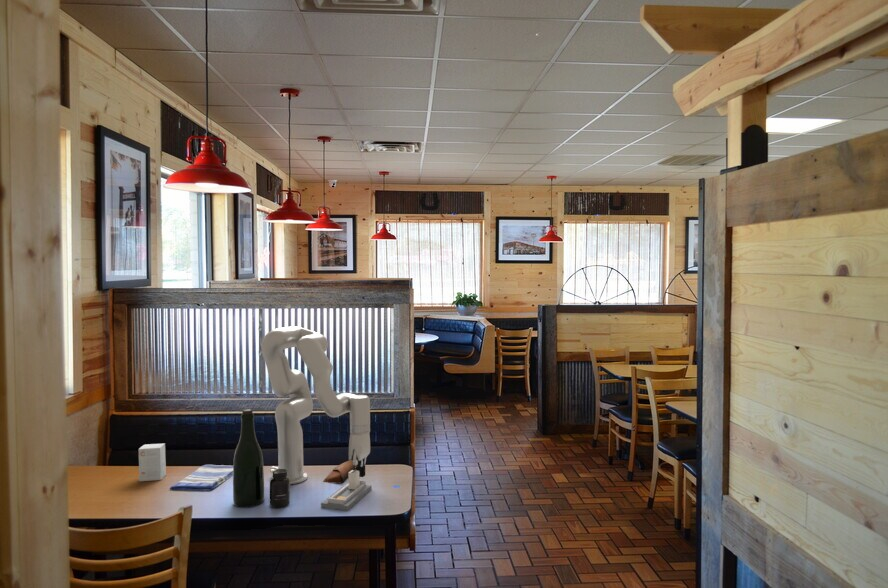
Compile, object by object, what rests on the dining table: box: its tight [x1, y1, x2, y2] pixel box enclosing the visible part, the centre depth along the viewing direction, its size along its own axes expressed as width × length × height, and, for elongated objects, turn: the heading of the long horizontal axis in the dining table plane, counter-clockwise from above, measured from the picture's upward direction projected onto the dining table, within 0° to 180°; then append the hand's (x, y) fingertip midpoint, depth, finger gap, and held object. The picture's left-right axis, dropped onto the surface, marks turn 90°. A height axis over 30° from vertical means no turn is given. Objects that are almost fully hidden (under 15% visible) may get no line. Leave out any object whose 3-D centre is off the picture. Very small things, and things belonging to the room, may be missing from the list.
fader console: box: [320, 480, 372, 511], centre depth 201 cm, size 20×10×3 cm, turn 163°
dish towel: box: [169, 464, 233, 492], centre depth 221 cm, size 17×24×3 cm
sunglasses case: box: [323, 459, 356, 484], centre depth 225 cm, size 18×7×7 cm
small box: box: [137, 443, 167, 482], centre depth 222 cm, size 8×6×13 cm
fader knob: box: [347, 469, 360, 490], centre depth 206 cm, size 3×3×6 cm
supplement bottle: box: [269, 469, 291, 509], centre depth 195 cm, size 7×7×12 cm
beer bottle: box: [232, 408, 265, 508], centre depth 198 cm, size 10×10×33 cm
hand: (360, 476), depth 212 cm, fingers closed
